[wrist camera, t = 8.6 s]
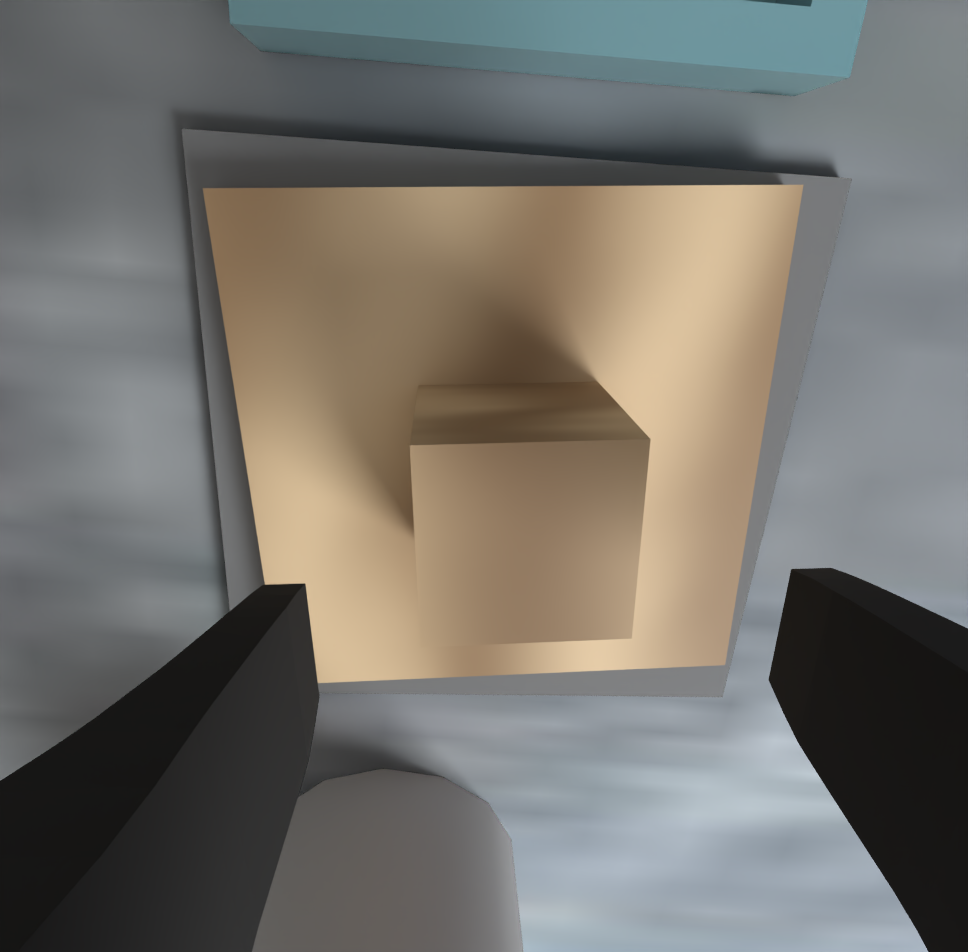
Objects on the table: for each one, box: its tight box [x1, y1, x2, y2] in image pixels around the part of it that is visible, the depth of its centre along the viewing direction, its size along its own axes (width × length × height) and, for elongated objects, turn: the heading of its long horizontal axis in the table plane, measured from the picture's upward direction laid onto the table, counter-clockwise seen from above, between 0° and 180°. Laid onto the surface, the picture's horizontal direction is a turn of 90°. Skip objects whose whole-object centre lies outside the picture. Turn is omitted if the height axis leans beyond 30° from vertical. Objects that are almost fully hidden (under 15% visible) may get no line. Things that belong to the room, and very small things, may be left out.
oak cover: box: [203, 185, 803, 683], centre depth 14 cm, size 12×12×5 cm
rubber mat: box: [182, 129, 852, 697], centre depth 16 cm, size 14×14×1 cm
